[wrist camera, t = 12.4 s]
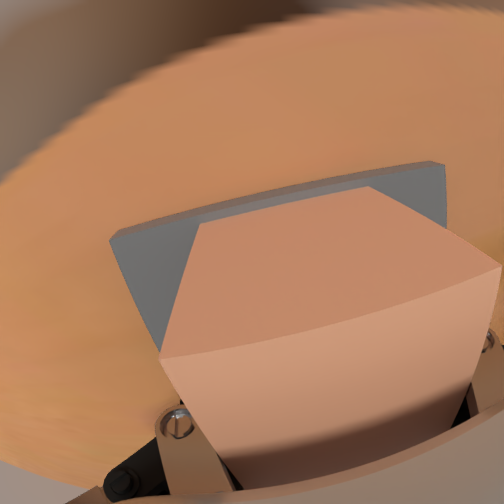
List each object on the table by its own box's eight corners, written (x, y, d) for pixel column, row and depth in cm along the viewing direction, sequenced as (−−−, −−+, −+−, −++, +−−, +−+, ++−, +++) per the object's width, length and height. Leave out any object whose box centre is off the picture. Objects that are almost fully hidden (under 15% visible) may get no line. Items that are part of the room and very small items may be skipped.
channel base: (430, 160, 10) (501, 183, 6) (397, 449, 18) (412, 487, 15) (118, 230, 10) (68, 282, 7) (252, 485, 19) (255, 526, 15)
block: (368, 186, 9) (502, 266, 4) (375, 330, 12) (440, 446, 6) (200, 223, 9) (158, 359, 4) (245, 363, 12) (253, 500, 6)
